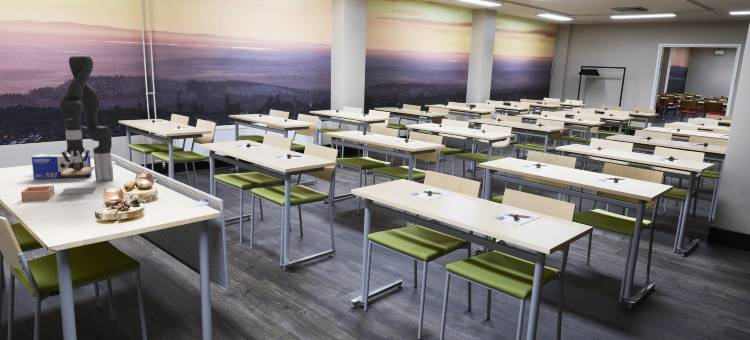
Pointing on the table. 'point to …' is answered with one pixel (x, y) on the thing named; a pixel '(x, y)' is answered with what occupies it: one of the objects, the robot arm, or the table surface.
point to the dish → (37, 193)
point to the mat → (78, 191)
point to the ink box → (55, 166)
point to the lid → (77, 170)
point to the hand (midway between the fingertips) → (77, 168)
